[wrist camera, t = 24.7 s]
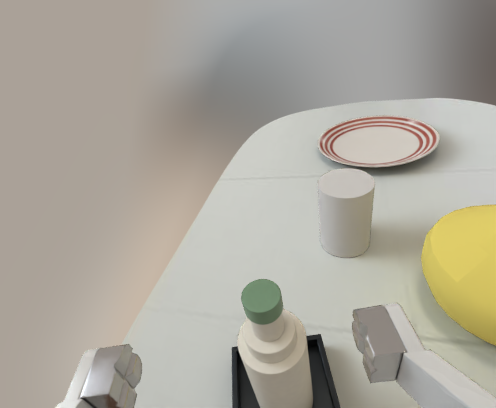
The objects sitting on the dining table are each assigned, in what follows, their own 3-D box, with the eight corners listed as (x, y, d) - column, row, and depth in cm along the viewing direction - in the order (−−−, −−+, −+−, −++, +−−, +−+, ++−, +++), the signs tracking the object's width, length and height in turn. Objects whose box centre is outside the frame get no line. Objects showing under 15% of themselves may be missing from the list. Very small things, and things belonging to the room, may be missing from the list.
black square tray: (238, 469, 29) (232, 461, 28) (236, 357, 38) (231, 347, 37) (350, 455, 28) (351, 446, 27) (321, 345, 37) (320, 333, 36)
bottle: (260, 432, 30) (220, 338, 20) (256, 371, 35) (222, 270, 25) (319, 424, 30) (309, 325, 19) (306, 364, 35) (293, 258, 24)
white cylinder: (379, 238, 50) (386, 178, 43) (350, 265, 47) (352, 205, 40) (339, 219, 56) (339, 163, 49) (310, 242, 52) (306, 185, 45)
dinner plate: (341, 188, 63) (341, 175, 61) (305, 139, 86) (304, 128, 84) (466, 160, 63) (470, 146, 62) (397, 118, 86) (398, 107, 84)
